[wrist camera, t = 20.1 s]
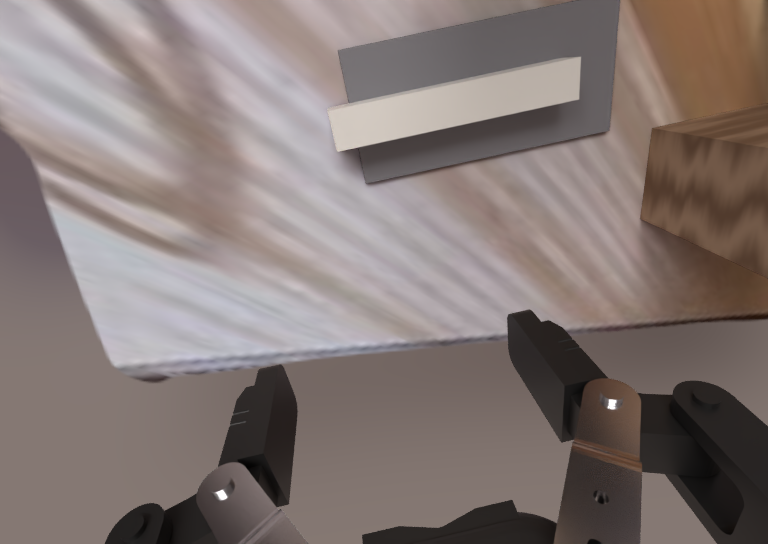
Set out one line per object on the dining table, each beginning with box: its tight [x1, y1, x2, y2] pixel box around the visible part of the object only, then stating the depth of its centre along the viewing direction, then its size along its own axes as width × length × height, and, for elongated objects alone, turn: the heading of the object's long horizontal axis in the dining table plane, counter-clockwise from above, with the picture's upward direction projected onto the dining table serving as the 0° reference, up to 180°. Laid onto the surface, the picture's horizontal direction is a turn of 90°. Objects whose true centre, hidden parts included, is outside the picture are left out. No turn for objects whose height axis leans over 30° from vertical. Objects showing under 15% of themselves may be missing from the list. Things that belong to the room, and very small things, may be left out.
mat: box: [338, 0, 620, 184], centre depth 44 cm, size 14×30×1 cm, turn 101°
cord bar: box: [328, 57, 581, 152], centre depth 42 cm, size 4×26×4 cm, turn 101°
